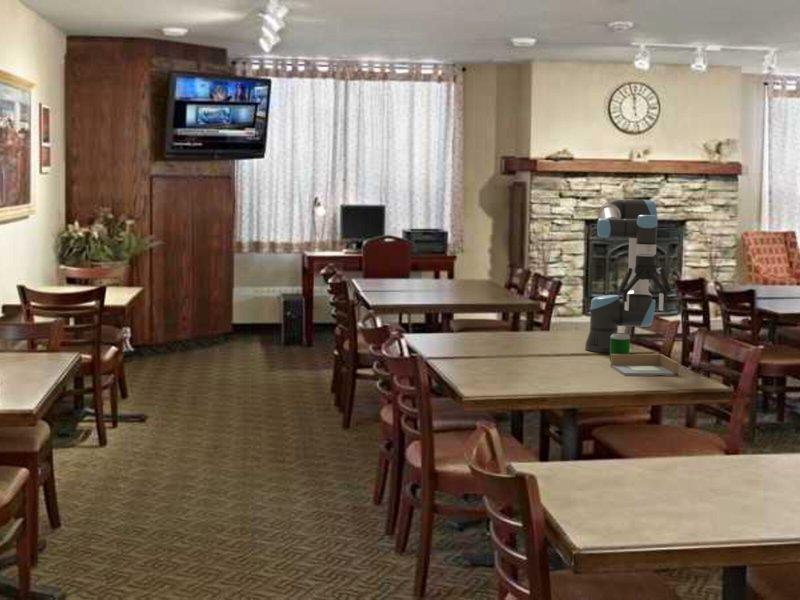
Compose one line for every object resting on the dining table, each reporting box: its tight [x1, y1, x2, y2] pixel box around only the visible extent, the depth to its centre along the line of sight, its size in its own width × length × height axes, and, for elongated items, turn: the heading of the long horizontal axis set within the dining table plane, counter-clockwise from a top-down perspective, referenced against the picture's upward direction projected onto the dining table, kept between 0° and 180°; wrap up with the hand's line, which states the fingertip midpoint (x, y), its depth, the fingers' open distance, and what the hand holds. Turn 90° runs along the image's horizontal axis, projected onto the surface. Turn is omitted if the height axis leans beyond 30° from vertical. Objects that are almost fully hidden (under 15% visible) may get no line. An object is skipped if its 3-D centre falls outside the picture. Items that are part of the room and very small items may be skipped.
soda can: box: [609, 332, 631, 363], centre depth 415 cm, size 8×8×12 cm
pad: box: [627, 366, 661, 371], centre depth 400 cm, size 10×10×1 cm
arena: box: [610, 353, 680, 377], centre depth 400 cm, size 20×20×5 cm
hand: (643, 310), depth 409 cm, fingers open, 13 cm apart
